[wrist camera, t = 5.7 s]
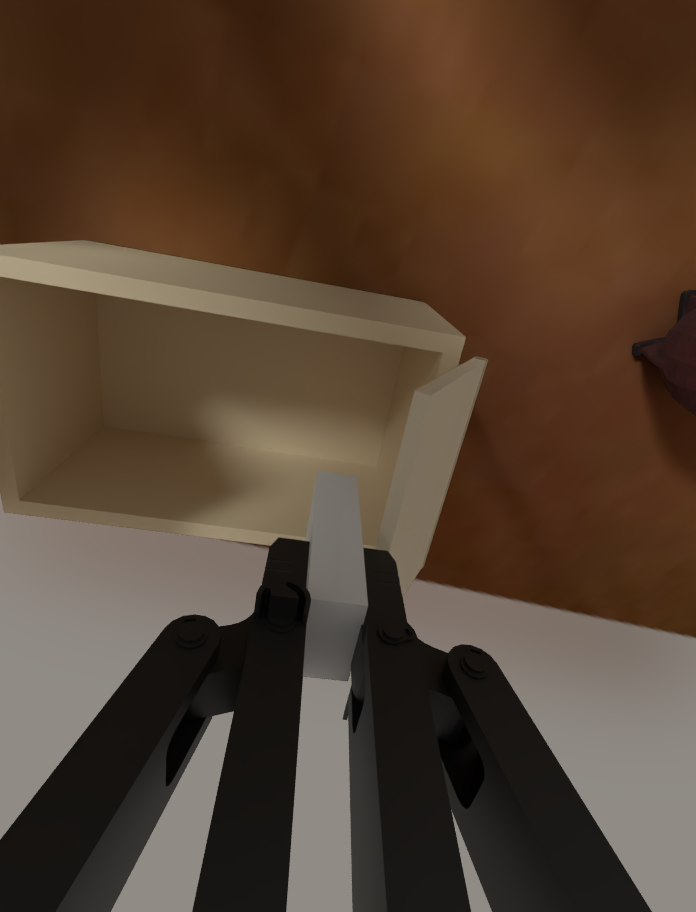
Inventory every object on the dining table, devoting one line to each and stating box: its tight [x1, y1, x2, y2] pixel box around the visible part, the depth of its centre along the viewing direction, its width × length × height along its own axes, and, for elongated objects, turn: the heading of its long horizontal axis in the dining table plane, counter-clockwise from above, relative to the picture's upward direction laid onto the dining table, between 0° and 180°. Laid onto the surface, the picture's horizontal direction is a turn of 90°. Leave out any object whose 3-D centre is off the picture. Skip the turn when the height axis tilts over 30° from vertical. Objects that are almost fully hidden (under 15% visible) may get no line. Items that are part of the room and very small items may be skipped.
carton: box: [0, 240, 466, 549], centre depth 26 cm, size 20×12×10 cm, turn 80°
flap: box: [375, 356, 488, 597], centre depth 19 cm, size 1×11×7 cm
